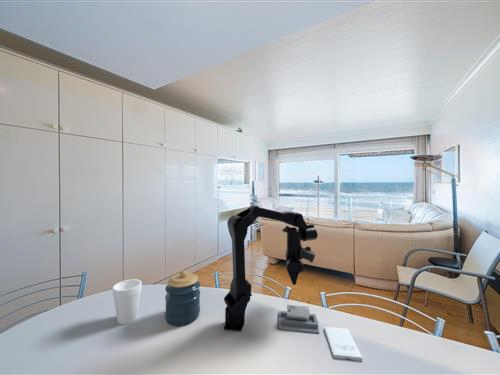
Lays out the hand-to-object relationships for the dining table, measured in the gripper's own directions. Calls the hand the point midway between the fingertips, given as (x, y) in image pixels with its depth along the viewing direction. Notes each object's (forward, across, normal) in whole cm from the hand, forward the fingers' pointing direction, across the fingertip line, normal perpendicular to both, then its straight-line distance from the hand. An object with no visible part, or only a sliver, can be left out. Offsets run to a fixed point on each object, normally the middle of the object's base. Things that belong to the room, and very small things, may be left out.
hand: (293, 279), depth 87 cm
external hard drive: (+13, -18, -14) cm, 26 cm away
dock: (+12, -9, -1) cm, 15 cm away
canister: (+12, -12, +43) cm, 46 cm away
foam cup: (+12, -17, +63) cm, 66 cm away
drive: (+12, -9, -1) cm, 15 cm away
